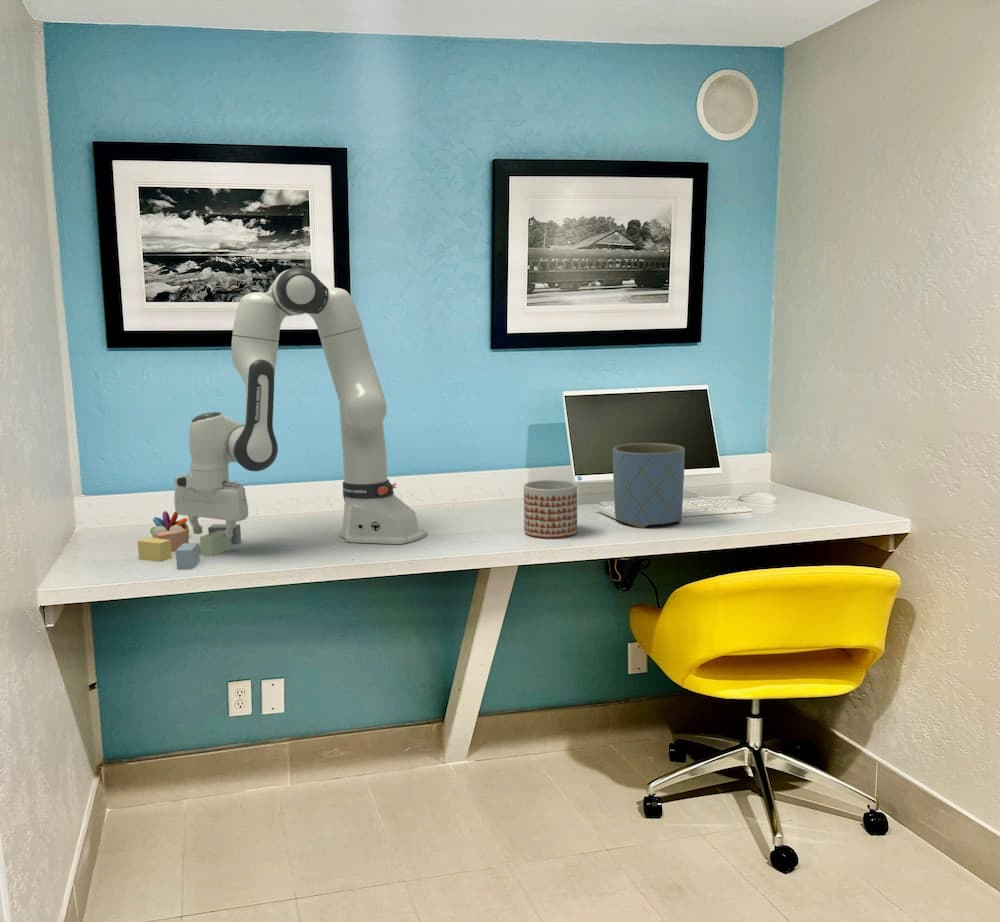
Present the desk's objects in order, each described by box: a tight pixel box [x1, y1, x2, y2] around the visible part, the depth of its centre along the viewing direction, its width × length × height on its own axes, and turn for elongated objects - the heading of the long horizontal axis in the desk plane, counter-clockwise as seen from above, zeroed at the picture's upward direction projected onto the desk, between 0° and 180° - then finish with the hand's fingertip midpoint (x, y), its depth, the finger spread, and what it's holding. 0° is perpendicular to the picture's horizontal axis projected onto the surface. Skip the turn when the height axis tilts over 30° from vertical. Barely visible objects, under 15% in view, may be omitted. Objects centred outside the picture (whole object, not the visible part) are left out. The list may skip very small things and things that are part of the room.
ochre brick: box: [137, 537, 173, 562], centre depth 229 cm, size 7×4×4 cm, turn 66°
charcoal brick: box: [207, 523, 242, 545], centre depth 243 cm, size 7×4×4 cm, turn 86°
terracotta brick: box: [155, 529, 190, 552], centre depth 237 cm, size 7×4×4 cm, turn 124°
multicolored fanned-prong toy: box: [149, 510, 190, 538], centre depth 249 cm, size 8×10×7 cm
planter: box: [612, 442, 686, 529], centre depth 256 cm, size 19×19×20 cm
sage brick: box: [199, 531, 233, 557], centre depth 234 cm, size 7×4×4 cm, turn 155°
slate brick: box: [175, 542, 200, 570], centre depth 222 cm, size 7×4×4 cm, turn 5°
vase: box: [523, 479, 578, 540], centre depth 246 cm, size 14×14×13 cm
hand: (212, 535), depth 234 cm, fingers open, 8 cm apart
